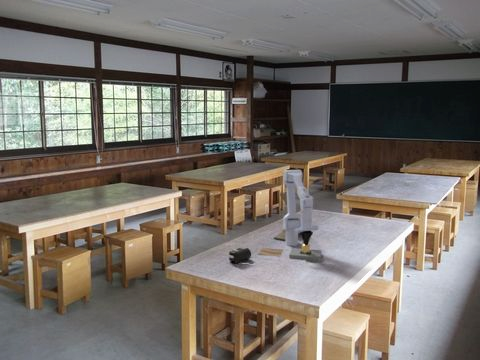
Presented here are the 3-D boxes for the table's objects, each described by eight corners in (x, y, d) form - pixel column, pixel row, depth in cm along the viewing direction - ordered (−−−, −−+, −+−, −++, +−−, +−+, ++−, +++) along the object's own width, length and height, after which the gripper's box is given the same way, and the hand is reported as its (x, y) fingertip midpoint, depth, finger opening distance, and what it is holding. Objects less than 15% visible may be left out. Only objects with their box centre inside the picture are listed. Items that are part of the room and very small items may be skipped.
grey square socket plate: (292, 252, 258) (292, 248, 258) (321, 254, 255) (321, 250, 254) (289, 259, 247) (289, 254, 246) (319, 261, 243) (319, 257, 243)
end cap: (239, 266, 236) (239, 253, 235) (228, 263, 240) (228, 250, 239) (251, 261, 244) (251, 248, 242) (240, 258, 248) (240, 246, 247)
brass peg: (299, 256, 251) (300, 244, 250) (305, 255, 254) (306, 242, 253) (305, 258, 248) (305, 246, 247) (311, 257, 250) (311, 244, 249)
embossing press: (305, 234, 296) (307, 187, 291) (286, 242, 277) (287, 193, 272) (290, 231, 302) (292, 185, 297) (271, 239, 283) (272, 190, 279)
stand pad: (262, 249, 263) (262, 248, 263) (283, 251, 260) (283, 249, 260) (257, 256, 252) (257, 254, 252) (280, 257, 249) (280, 256, 249)
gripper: (300, 222, 240) (299, 248, 243) (322, 219, 248) (321, 244, 250) (292, 220, 246) (291, 244, 248) (313, 216, 254) (312, 241, 256)
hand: (305, 244), depth 250 cm, fingers closed
